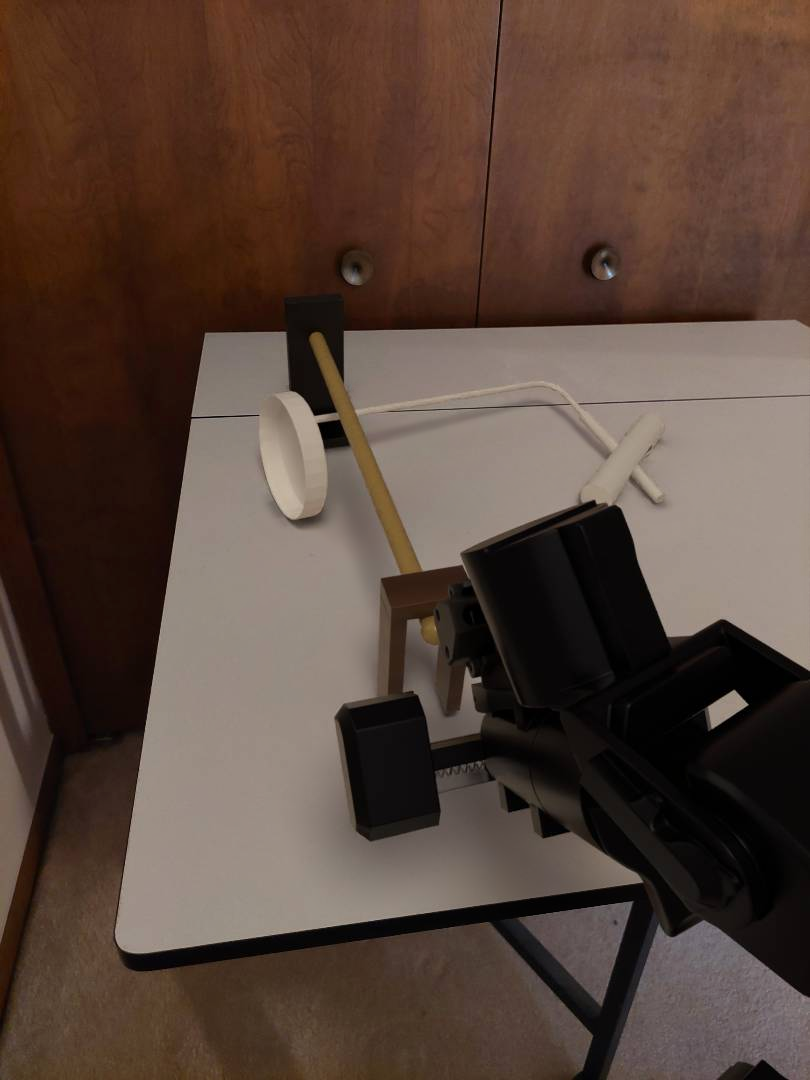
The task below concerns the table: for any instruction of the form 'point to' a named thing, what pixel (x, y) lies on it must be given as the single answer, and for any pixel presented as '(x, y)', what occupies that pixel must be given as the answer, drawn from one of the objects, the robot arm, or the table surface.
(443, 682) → the brown wooden arch
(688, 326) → the table surface
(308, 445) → the desk lamp
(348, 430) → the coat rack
